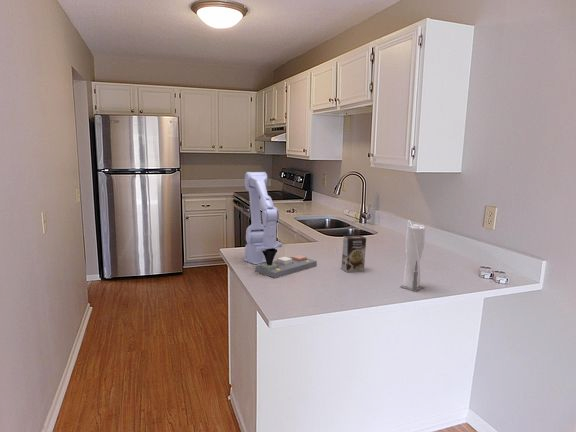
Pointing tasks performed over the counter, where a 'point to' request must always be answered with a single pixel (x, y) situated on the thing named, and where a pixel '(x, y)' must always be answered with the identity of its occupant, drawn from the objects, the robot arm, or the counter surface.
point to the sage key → (269, 266)
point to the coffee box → (353, 253)
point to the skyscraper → (413, 256)
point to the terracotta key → (298, 258)
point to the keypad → (287, 268)
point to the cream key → (284, 261)
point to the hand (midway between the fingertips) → (269, 264)
